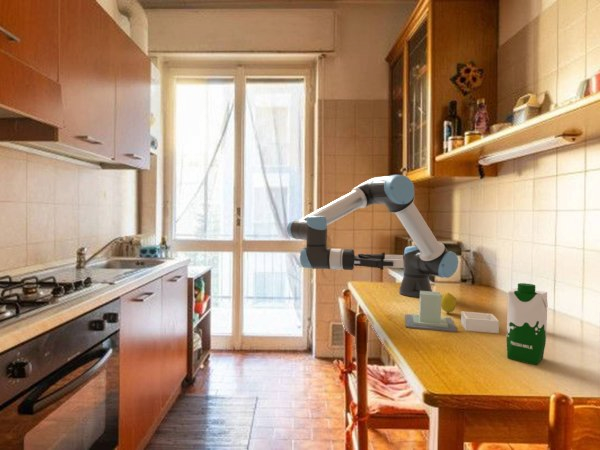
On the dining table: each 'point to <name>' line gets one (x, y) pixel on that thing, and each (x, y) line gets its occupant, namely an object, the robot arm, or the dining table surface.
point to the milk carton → (526, 324)
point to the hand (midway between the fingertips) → (403, 261)
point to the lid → (430, 310)
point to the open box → (479, 322)
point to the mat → (449, 321)
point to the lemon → (448, 302)
